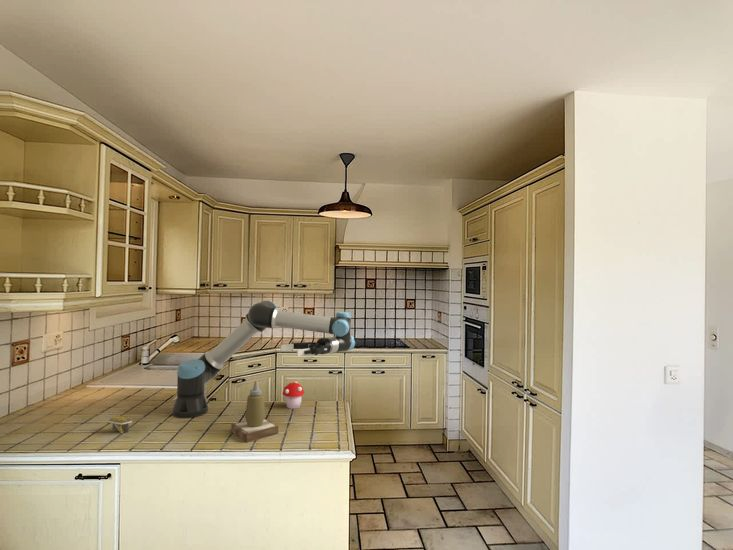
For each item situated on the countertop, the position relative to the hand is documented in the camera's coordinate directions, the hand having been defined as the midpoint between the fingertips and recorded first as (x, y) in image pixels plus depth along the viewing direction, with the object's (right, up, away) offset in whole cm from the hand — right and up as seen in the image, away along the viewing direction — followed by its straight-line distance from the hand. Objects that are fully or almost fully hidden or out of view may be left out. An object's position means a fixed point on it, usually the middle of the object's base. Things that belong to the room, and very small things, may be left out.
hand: (288, 350), depth 183 cm
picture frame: (-12, -32, -12) cm, 36 cm away
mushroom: (-2, -32, +21) cm, 38 cm away
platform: (-67, -31, -15) cm, 75 cm away
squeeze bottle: (-12, -29, -12) cm, 33 cm away
